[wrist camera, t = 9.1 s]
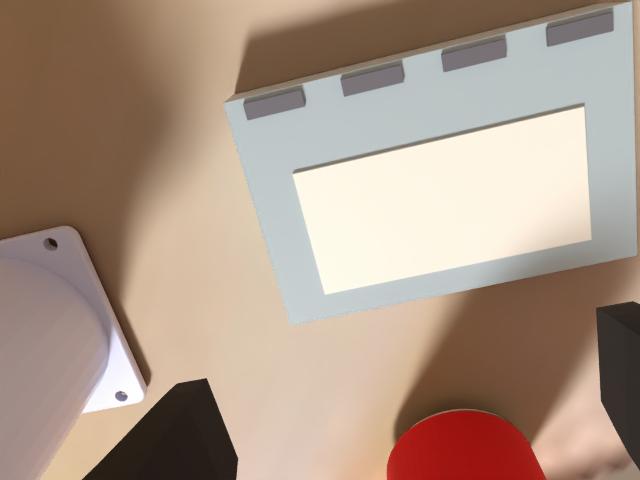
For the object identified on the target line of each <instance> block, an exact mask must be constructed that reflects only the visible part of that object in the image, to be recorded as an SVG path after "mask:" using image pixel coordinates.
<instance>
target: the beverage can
mask: <svg viewBox="0 0 640 480" xmlns="http://www.w3.org/2000/svg"><path fill="white" fill-rule="evenodd" d="M387 480H546V478H545V476H544V473H543V471H542V469H541V467H540V465H539V463H538V461H537V459H536V456H535V454H534V452H533V450H532V448H531V446H530V444H529V442H528V441H527V439H526V438H525V437H524V435H523V434H522V433H521V432H520V431H519V430H518V429H517V428H516V427H515V426H513V425H512V424H511V423H510V422H508V421H507V420H505V419H503V418H502V417H500V416H497V415H495V414H492V413H489V412H486V411H481V410H475V409H455V410H448V411H443V412H440V413H437V414H434V415H431V416H429V417H427V418H425V419H423V420H421V421H419V422H418V423H416V424H415V425H414V426H412V427H411V428H410V429H409V430H408V431H407V432H406V433H405V434H403V436H402V437H401V438H400V439H399V440H398V442H397V443H396V444H395V446H394V448H393V450H392V452H391V454H390V457H389V460H388V464H387Z"/></svg>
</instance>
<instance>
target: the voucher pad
mask: <svg viewBox="0 0 640 480" xmlns="http://www.w3.org/2000/svg"><path fill="white" fill-rule="evenodd" d="M223 105H224V108H225V111H226V115H227V118H228V121H229V124H230V128H231V131H232V134H233V138H234V141H235V144H236V148H237V151H238V154H239V157H240V161H241V164H242V167H243V171H244V174H245V177H246V181H247V184H248V187H249V190H250V194H251V197H252V200H253V204H254V207H255V210H256V214H257V217H258V220H259V223H260V227H261V230H262V233H263V237H264V240H265V243H266V247H267V250H268V253H269V256H270V260H271V263H272V266H273V270H274V273H275V276H276V279H277V283H278V286H279V289H280V293H281V296H282V299H283V303H284V306H285V309H286V312H287V316H288V319H289V322H290V326H291V325H296V324H301V323H306V322H311V321H316V320H321V319H326V318H331V317H336V316H341V315H346V314H351V313H356V312H361V311H366V310H371V309H376V308H381V307H385V306H390V305H395V304H400V303H405V302H410V301H415V300H420V299H425V298H430V297H435V296H440V295H445V294H450V293H455V292H460V291H465V290H470V289H475V288H480V287H485V286H489V285H494V284H499V283H504V282H509V281H514V280H519V279H524V278H529V277H534V276H539V275H544V274H549V273H554V272H559V271H564V270H569V269H574V268H579V267H584V266H589V265H593V264H598V263H603V262H608V261H613V260H618V259H623V258H628V257H633V256H637V211H636V162H635V113H634V65H633V16H632V1H627V2H609V3H597V4H593V5H589V6H585V7H581V8H577V9H573V10H569V11H565V12H561V13H557V14H553V15H549V16H545V17H541V18H537V19H533V20H529V21H525V22H521V23H517V24H513V25H509V26H505V27H501V28H497V29H493V30H489V31H485V32H481V33H477V34H473V35H469V36H465V37H462V38H458V39H454V40H450V41H446V42H442V43H438V44H434V45H430V46H426V47H422V48H418V49H414V50H410V51H406V52H402V53H398V54H394V55H390V56H386V57H382V58H378V59H374V60H370V61H366V62H362V63H358V64H354V65H350V66H346V67H342V68H338V69H334V70H330V71H326V72H322V73H318V74H314V75H310V76H306V77H302V78H298V79H294V80H290V81H286V82H282V83H278V84H274V85H270V86H266V87H262V88H258V89H254V90H250V91H246V92H242V93H238V94H234V95H233V96H231V97H230V98H229V99H228V100H227V101H225V102H224V103H223Z"/></svg>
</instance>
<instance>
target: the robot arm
mask: <svg viewBox="0 0 640 480" xmlns="http://www.w3.org/2000/svg"><path fill="white" fill-rule="evenodd" d="M48 238H52V239H54V240H55V241H56V242H57V245H58V247H54V246H52V245H51V244H50V243H49V240H48ZM596 314H597V333H598V352H599V371H600V390H601V402H602V404H603V406H604V408H605V410H606V412H607V414H608V415H609V417H610V419H611V421H612V423H613V425H614V427H615V429H616V431H617V433H618V435H619V437H620V439H621V441H622V442H623V444H624V446H625V448H626V450H627V452H628V454H629V455H630V457H631V458H632V460H633V461H634V463H635V464H636V466H637V467H638V469H639V470H640V304H638V303H636V302H633V301H632V302H627V303H621V304H615V305H610V306H604V307H599V308H596ZM119 391H123V392H125V393H126V394H127V395H122V394H121V393H120V392H119ZM146 393H147V386H146V384H145V382H144V379H143V377H142V375H141V373H140V370H139V368H138V366H137V364H136V361H135V359H134V357H133V355H132V352H131V350H130V348H129V345H128V343H127V341H126V339H125V336H124V334H123V332H122V330H121V327H120V325H119V323H118V321H117V318H116V316H115V314H114V312H113V309H112V307H111V305H110V302H109V300H108V298H107V296H106V293H105V291H104V289H103V287H102V284H101V282H100V280H99V278H98V275H97V273H96V271H95V269H94V266H93V264H92V262H91V259H90V257H89V255H88V253H87V250H86V248H85V246H84V244H83V241H82V239H81V237H80V235H79V233H78V232H77V231H76V230H75V229H74V228H72V227H69V226H59V227H55V228H50V229H46V230H42V231H38V232H33V233H29V234H25V235H20V236H16V237H12V238H7V239H3V240H0V480H40V478H41V477H42V475H43V474H44V472H45V470H46V469H47V467H48V466H49V464H50V462H51V461H52V459H53V458H54V456H55V454H56V453H57V451H58V450H59V448H60V446H61V445H62V443H63V442H64V440H65V438H66V437H67V435H68V434H69V432H70V430H71V429H72V427H73V426H74V424H75V422H76V421H77V419H78V418H79V416H80V414H82V413H88V412H93V411H98V410H103V409H108V408H114V407H119V406H124V405H129V404H134V403H138V402H141V401H142V400H143V399H144V398H145V396H146ZM237 465H238V457H237V455H236V452H235V450H234V447H233V444H232V442H231V439H230V437H229V434H228V432H227V429H226V426H225V424H224V421H223V419H222V416H221V414H220V411H219V409H218V406H217V403H216V401H215V398H214V396H213V393H212V391H211V388H210V385H209V383H208V380H207V378H205V379H200V380H194V381H189V382H183V383H178V384H176V385H175V386H174V387H173V388H172V389H170V390H169V391H168V392H167V393H166V394H165V395H164V396H163V397H162V398H161V399H160V400H159V401H158V402H157V403H156V404H155V405H154V406H153V407H152V408H151V409H150V411H149V412H148V413H147V414H146V415H145V416H144V417H143V418H142V419H141V420H140V421H139V422H138V423H137V424H136V425H135V426H134V427H133V428H132V429H131V430H130V431H129V432H128V434H127V435H126V436H125V437H124V438H123V439H122V440H121V441H120V442H119V443H118V444H117V445H116V446H115V447H114V448H113V449H112V450H111V451H110V452H109V453H108V454H107V455H106V456H105V457H104V458H103V459H102V460H101V461H100V463H99V464H98V465H97V466H96V467H94V468H93V469H92V470H91V471H90V472H89V473H88V474H87V475H86V476H85V477H84V478H83V479H82V480H236V476H237Z"/></svg>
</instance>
